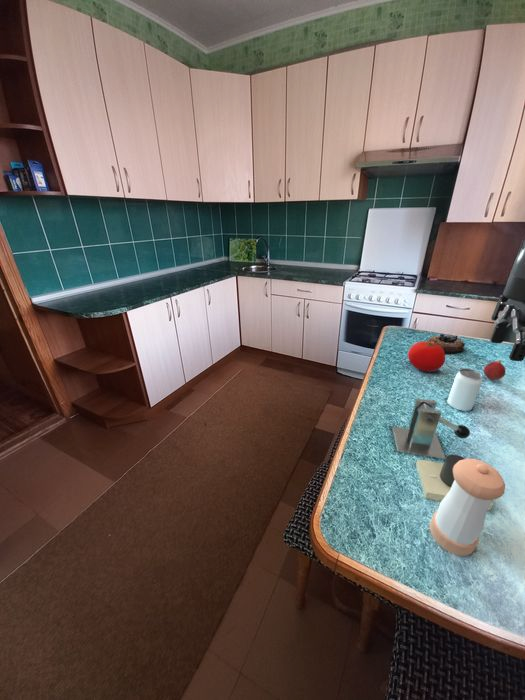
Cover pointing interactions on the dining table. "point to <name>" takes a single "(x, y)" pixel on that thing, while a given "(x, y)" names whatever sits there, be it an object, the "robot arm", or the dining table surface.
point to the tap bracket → (420, 432)
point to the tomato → (426, 356)
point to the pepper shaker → (466, 506)
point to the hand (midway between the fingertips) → (504, 350)
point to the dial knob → (449, 469)
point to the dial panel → (433, 480)
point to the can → (465, 389)
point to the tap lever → (450, 424)
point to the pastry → (448, 343)
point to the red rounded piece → (494, 370)
